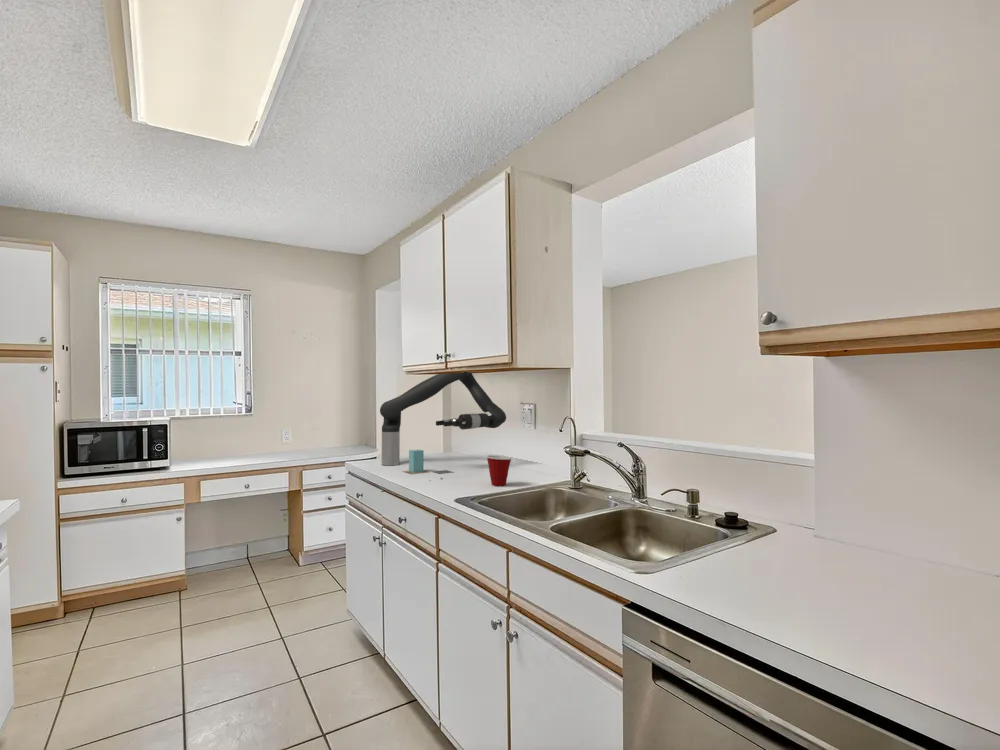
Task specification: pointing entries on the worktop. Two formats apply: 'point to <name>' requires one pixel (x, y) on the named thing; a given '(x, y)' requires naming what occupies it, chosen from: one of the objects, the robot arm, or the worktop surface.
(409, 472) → the walnut base
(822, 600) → the worktop surface
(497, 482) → the plastic cup
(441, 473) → the coaster mat
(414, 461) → the teal block
